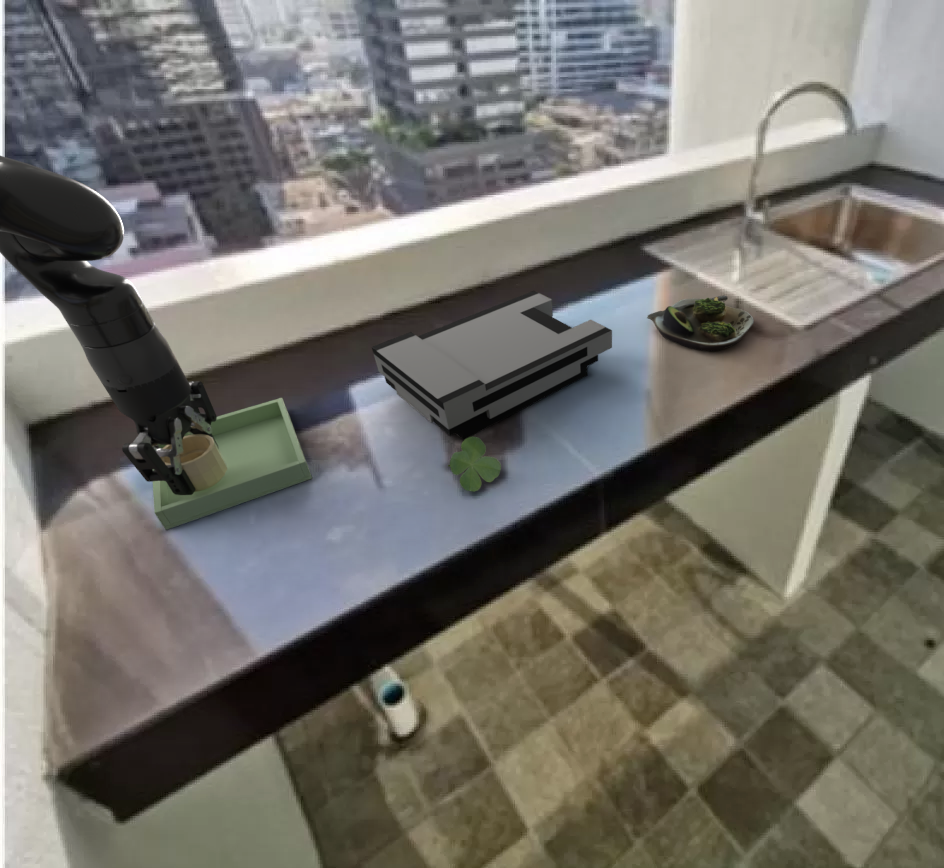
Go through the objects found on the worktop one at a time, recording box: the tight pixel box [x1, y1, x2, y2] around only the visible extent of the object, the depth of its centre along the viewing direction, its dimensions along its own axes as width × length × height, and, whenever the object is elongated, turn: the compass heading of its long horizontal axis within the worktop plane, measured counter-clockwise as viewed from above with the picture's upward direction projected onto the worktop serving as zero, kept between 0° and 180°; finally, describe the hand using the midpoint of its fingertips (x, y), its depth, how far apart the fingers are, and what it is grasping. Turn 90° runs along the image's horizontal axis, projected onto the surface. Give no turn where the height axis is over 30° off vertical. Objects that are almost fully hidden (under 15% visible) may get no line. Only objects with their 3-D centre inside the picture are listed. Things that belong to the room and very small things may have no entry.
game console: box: [371, 290, 613, 441], centre depth 99 cm, size 21×32×8 cm, turn 133°
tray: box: [152, 397, 313, 531], centre depth 84 cm, size 18×18×3 cm
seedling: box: [447, 436, 502, 492], centre depth 82 cm, size 7×8×7 cm
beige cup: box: [162, 434, 227, 492], centre depth 78 cm, size 6×6×5 cm
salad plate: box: [646, 295, 754, 352], centre depth 114 cm, size 19×18×5 cm
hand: (199, 474), depth 79 cm, fingers closed on beige cup, 6 cm apart
